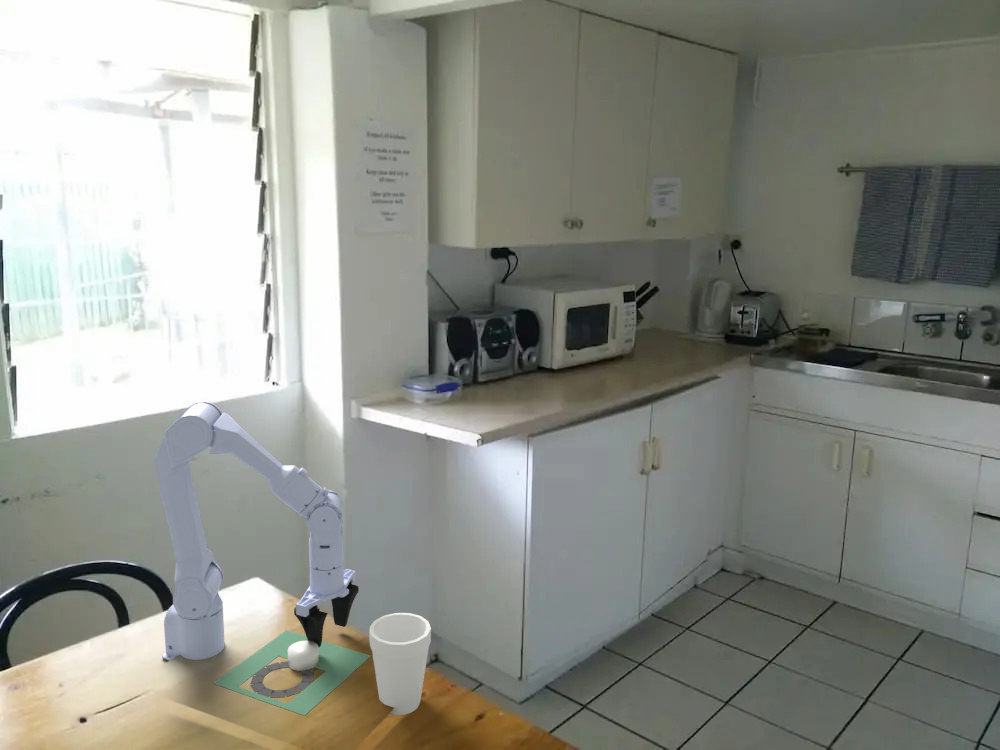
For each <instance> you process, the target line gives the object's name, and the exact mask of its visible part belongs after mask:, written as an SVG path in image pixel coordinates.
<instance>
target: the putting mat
mask: <svg viewBox="0 0 1000 750" xmlns="http://www.w3.org/2000/svg"><path fill="white" fill-rule="evenodd" d="M299 641H308V640H307V637H306V635H303V634H300V633H297V632H293V631H291V630H287V629H286V630H284V631H283V632H282V633H280V634H279V635H277V637H275V638H273V639H272V640H271V641H270V642H268V643H267V644H265V645H264V646H263V647H261V648H259V649H258V650H257V651H256V652H254V653H253V654H251V655H250V656H248V657H247V658H246V659H245V660H243V661H242V662H241V663H239V664H238V665H236V666H235V667H233V668H232V669H231V670H229V671H228V672H226V673H225V674H224V675H223V676H220V677H219V678H218V679H217V680H216V681H214V682H213V683H212V684H213V685H215V686H218V687H221V688H223V689H227V690H230V691H233V692H236V693H238V694H241V695H245V696H247V697H249V698H253V699H255V700H258V701H261V702H264V703H267V704H270V705H272V706H275V707H278V708H281V709H285V710H287V711H290V712H293V713H295V714H299V715H301V716H304V717H305V716H306V715H307V714H309V712H311V711H312V710H313V709H314V708H315V707H317V705H318V704H319V703H321V702H322V701H323V700H324V699H325V698H326V697H327V696H328V695H329V694H331V692H333V691H334V690H335V689H336V688H337V687H338V686H339V685H341V684H342V683H343V682H344V681H345V680H346V679H348V678H349V677H350V676H351V675H352V674H353V673H354V672H355V671H356V670H358V669H359V667H361V666H362V665H363V664H364V663H366V661H368V660H369V659H370V657H372V655H370V654H367V653H364V652H360V651H357V650H353V649H351V648H347V647H343V646H340V645H337V644H334V643H329V642H327V641H325V640H324V641H323V640H322V643H321V646H320V647H319V662H318V664H317V665H316V666H315V667H314V669H318V670H321V671H324V672H323V673H322V674H321V675H320V676H318V677H317V678H316V679H315V680H314V678H315V672H314V670H313V668H312V669H309V670H305V671H299V672H300V673H301V675H302V678H301V680H300V681H299V683H297V684H296V685H294V686H293V687H289V688H286V689H276V690H275V689H271V688H267V686H265V684H264V683H263V681H264V678H265V676H267V675H268V674H270V673H271V672H273V671H277V670H279V669H291V668H290V667H289V666H288V648H289V646H290V645H292V644H294V643H296V642H299ZM278 657H280V658H284V659H287V661H280V662H279V661H277V662H275V663H271V662H273V661H274V660H275V659H277V658H278ZM270 663H271V664H270ZM249 679H251V680H250V684H249V685H250V687H251V689H252V690H253V691H252V690H249V689H247V688H243V687H240V686H241V685H242V684H244V683H245V682H246V681H248V680H249ZM296 694H297V695H296ZM294 695H296V696H295V697H294V698H293V699H292V700H290V701H289V702H288V703H286V702H283V701H281V700H277V699H274V698H285V697H286V698H287V697H290V696H294Z"/></svg>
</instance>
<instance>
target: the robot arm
mask: <svg viewBox="0 0 1000 750" xmlns="http://www.w3.org/2000/svg"><path fill="white" fill-rule="evenodd" d="M209 447H210V448H211V449H210V450H209V454H210V455H220V454H231V455H232V456H234V457H235V458H236V459H238V460H239V461H241V462H242V463H243V464H244V465H246V466H248V467H250V469H252V470H253V471H255V472H256V473H257V474H259V475H260V476H262V477H263V478H264V479H266V481H267V480H268V482H269V485H270V492H271V493H272V494H273V495H274V496H275V497H277V498H278V499H279V500H280V501H281V502H283V503H284V504H285V505H286V506H288V507H289V508H290V509H291V510H293V511H294V512H295V513H296V514H298V516H301V518H305V525H306V528H307V529H308V530H309V539H308V549H309V550H308V554H309V555H308V556H309V561H308V562H309V586H308V588H307V589H306V591H305V593H304V594H303V596H302V597H301V598H300V599H299V601H298V602H296V604H295V607H294V608H293V610H294V611H293V614H294V616H295V617H296V618H297V620H298V621H299V623H300V624H301V627H302V628H303V630H304V634H305V636H306V637H307V640H308V641H312V642H315V643H316V644H317V645H318V648H319V647H320V646H321V643H322V641H323V633H324V632H323V630H324V626H325V625H324V624H325V621H326V618H327V616H328V612H326V611H321V610H320V608H319V606H320V604H323V603H326V602H328V601H330V600H331V608H332V617H333V622H334V625H335V626H339V627H342V628H345V627H346V626H347V625H348V620H349V616H350V611H351V609H352V606H353V603H354V600H355V599H356V597H357V595H358V593H359V591H360V590H359V585H356V584H352V583H355V582H356V580H357V573H356V570H353V569H349V568H346V569H344V567H345V566H344V560H345V558H344V536H343V520H344V519H343V516H344V507H345V506H344V502H343V500H342V497H340V495H339V494H338V493H337V492H336V491H333V490H330V489H328V488H327V487H326V486H325V487H322V486H320V485H319V484H318V483H317V482H315V480H313V479H312V478H311V477H309V475H308V470H307V469H306V468H304V467H301V468H298V466H296V465H295V464H294V465H292V464H291V465H283V464H282V463H281V462H280V461H279V460H277V458H276V457H274V455H272V454H271V453H270V452H269V451H268V450H267V449H266V448H265V447H263V446H262V445H261V444H260V443H259V442H258V441H257V440H256V439H254V438H253V437H252V435H250V434H249V433H248V432H247V431H246V430H245V429H244V428H242V427H241V426H240V424H239V423H238V422H237V421H236V420H235V419H234V418H233V417H232V416H231V415H230V414H228V413H227V412H225V411H224V412H222V410H221V409H220V408H219V407H218V406H217V405H216V404H214V403H213V402H210V401H205V400H202V401H196V402H194V403H192V404H191V405H189V406H188V407H187V408H186V409H185V411H183V412H182V413H181V414H180V415H179V416H178V418H177V419H175V421H174V422H173V423H172V424H171V425H170V426H169V427H168V428H167V429H166V430H165V431H164V435H163V438H162V440H161V441H160V444H159V447H158V450H157V451H156V454H155V455H154V459H153V467H154V472H155V475H156V480H157V483H158V488H159V493H160V497H161V502H162V505H163V510H164V514H165V520H166V522H167V523H166V524H167V526H168V532H169V535H170V539H171V544H172V549H173V554H174V558H175V569H174V571H175V572H174V581H173V582H174V585H175V586H174V587H175V591H174V594H173V598H172V605H171V606H170V607H169V608H168V609H167V611H166V613H165V616H164V620H163V628H164V629H163V631H164V632H163V633H164V644H165V646H164V647H165V652H164V653H163V654H162V657H161V658H162V659H164V660H167V661H171V660H173V659H175V658H176V657H178V656H182V657H183V658H185V659H186V660H193V661H200V660H206V659H209V658H213V657H215V656H217V655H219V654H220V653H221V652H222V651H223V650H224V648H225V645H226V641H225V640H226V639H225V627H224V626H225V624H224V605H223V599H222V598H221V596H220V594H219V590H220V589H221V587H222V585H223V583H224V579H225V578H224V577H225V576H224V572H223V570H222V567H221V566H219V564H218V563H217V562H216V559H215V556H214V553H213V552H212V551H211V550H210V549H208V544H207V541H206V534H205V531H204V526H203V522H202V517H201V513H200V512H201V511H200V508H199V504H198V498H197V494H196V488H195V486H194V480H193V476H192V472H191V471H192V470H191V467H190V462H191V461H192V460H193V458H194V457H195V456H197V455H199V454H200V453H202V452H204V451H206V449H207V448H209ZM318 605H319V606H318Z"/></svg>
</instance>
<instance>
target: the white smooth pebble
mask: <svg viewBox="0 0 1000 750" xmlns="http://www.w3.org/2000/svg"><path fill="white" fill-rule="evenodd" d="M287 661H288V666H289V667H290V668H289V669H291V670H294V671H296V672H297V671H299V672H300V671H305V670H309V669H312V670H313V668H314V667H315V666H316V665H317V664H318V662H319V648H318V645H317V644H316V643H315V642H312V641H299V642H296V643H294V644H292V645H290V646H289V648H288V659H287ZM314 669H315V668H314Z"/></svg>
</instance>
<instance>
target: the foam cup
mask: <svg viewBox="0 0 1000 750" xmlns="http://www.w3.org/2000/svg"><path fill="white" fill-rule="evenodd" d="M368 629H369V631H368V632H369V633H368V635H369V647H370V649H371V651H372V652H371V653H372V659H373V665H374V673H375V679H376V685H377V686H376V687H377V692H378V699H379V701H380V702H381V703H382V704H384V706H388V707H391V708H393V709H391V711H390V712H389V713H388V714H389V715H393V716H403V715H407V714H411V713H413V712H414V711H416V710H417V709H418V708H419V706H420V704H421V701H422V700H421V699H422V693H423V687H424V680H425V674H426V667H427V661H428V654H429V648H430V644H431V642H432V639H431V638H432V628H431V625H430V622H429V620H427V619H426V618H424V616H421V615H419V614H415V613H410V612H395V613H389V614H385V615H382V616H380V617H378V618H377V619H375V620H374V621H373V622H372V624H371V625H370V626H369V628H368Z"/></svg>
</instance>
